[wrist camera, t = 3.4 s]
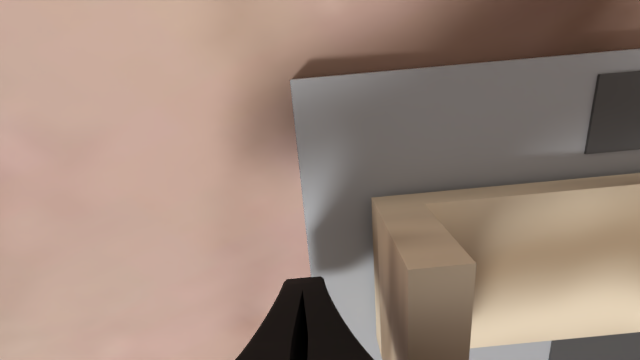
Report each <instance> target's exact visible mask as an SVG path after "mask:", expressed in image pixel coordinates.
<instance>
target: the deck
mask: <svg viewBox="0 0 640 360" xmlns="http://www.w3.org/2000/svg"><path fill="white" fill-rule="evenodd" d="M290 85H291V94H292V104H293V113H294V122H295V131H296V141H297V150H298V159H299V169H300V178H301V187H302V197H303V206H304V215H305V225H306V234H307V243H308V252H309V262H310V271H311V277H318V276H321V277H322V278H324V281H325V285H326V288H327V290H328V293H329V295H330V297H331V299H332V301H333V303H334V305H335V307H336V308H337V310H338V312H339V314H340V315H341V317H342V319H343V320H344V322H345V323H346V325H347V326H348V328H349V329H350V330H351V332H352V333H353V335H354V336H355V337H356V339H357V340H358V341H359V343H360V344H361V345H362V346H363V347H364V349H365V350H366V351H367V352H368V353H369V354H370V356H371V357H372V358H373V359H374V360H382V357H381V353H380V349H379V345H378V341H377V338H376V311H375V284H374V256H373V229H372V202H371V198H372V197H383V196H393V195H404V194H415V193H426V192H437V191H448V190H459V189H470V188H480V187H491V186H502V185H513V184H524V183H535V182H546V181H557V180H567V179H578V178H589V177H600V176H611V175H622V174H633V173H640V48H639V49H627V50H616V51H605V52H593V53H582V54H571V55H559V56H548V57H537V58H525V59H514V60H503V61H491V62H480V63H469V64H457V65H446V66H435V67H423V68H412V69H401V70H389V71H378V72H367V73H355V74H344V75H333V76H321V77H310V78H299V79H291V80H290ZM469 360H640V332H635V333H624V334H614V335H604V336H593V337H583V338H573V339H562V340H552V341H542V342H531V343H521V344H511V345H500V346H490V347H480V348H470V353H469Z"/></svg>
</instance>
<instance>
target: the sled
mask: <svg viewBox="0 0 640 360" xmlns="http://www.w3.org/2000/svg"><path fill="white" fill-rule="evenodd" d="M371 202H372V229H373V256H374V284H375V311H376V338H377V341H378V345H379V349H380V353H381V357H382V360H469V353H470V348H480V347H490V346H500V345H511V344H521V343H531V342H542V341H552V340H562V339H573V338H583V337H593V336H604V335H614V334H624V333H635V332H640V173H633V174H622V175H611V176H600V177H589V178H578V179H567V180H557V181H546V182H535V183H524V184H513V185H502V186H491V187H480V188H470V189H459V190H448V191H437V192H426V193H415V194H404V195H393V196H383V197H372V198H371Z"/></svg>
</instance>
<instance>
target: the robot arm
mask: <svg viewBox="0 0 640 360" xmlns="http://www.w3.org/2000/svg"><path fill="white" fill-rule="evenodd" d="M236 360H374V359H373V358H372V357H371V356H370V354H369V353H368V352H367V351H366V350H365V349H364V347H363V346H362V345H361V344H360V343H359V341H358V340H357V339H356V337H355V336H354V335H353V333H352V332H351V330H350V329H349V328H348V326H347V325H346V323H345V322H344V320H343V319H342V317H341V315H340V314H339V312H338V310H337V308H336V307H335V305H334V303H333V301H332V299H331V297H330V295H329V293H328V290H327V288H326V285H325V281H324V278H322V277H321V276H318V277H307V278H297V279H287V280H286V281H285V282H284V284H283V286H282V288H281V290H280V293H279V295H278V297H277V298H276V300H275V302H274V304H273V306H272V308H271V309H270V311H269V313H268V314H267V316H266V318H265V319H264V321H263V323H262V324H261V326H260V327H259V329H258V330H257V332H256V333H255V334H254V336H253V337H252V339H251V340H250V342H249V343H248V344H247V346H246V347H245V348H244V350H243V351H242V352H241V354H240V355H239V356H238V357H237V358H236Z"/></svg>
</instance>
